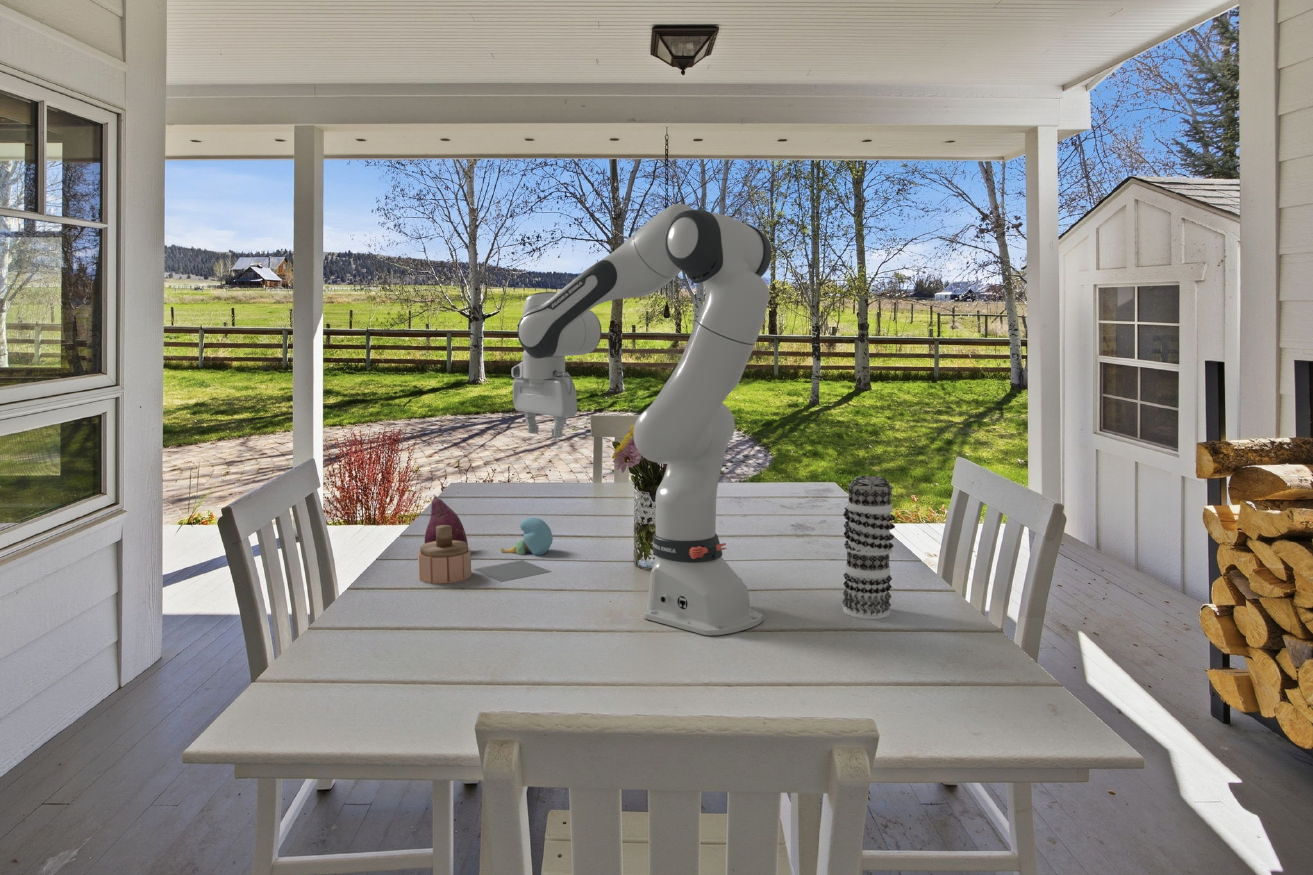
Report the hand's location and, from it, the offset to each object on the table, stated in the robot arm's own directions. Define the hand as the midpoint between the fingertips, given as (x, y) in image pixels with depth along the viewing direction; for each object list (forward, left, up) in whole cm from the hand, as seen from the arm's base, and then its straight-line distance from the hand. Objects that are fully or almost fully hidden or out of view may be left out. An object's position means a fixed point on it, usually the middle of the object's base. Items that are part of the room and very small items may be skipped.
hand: (544, 435), depth 189 cm
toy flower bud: (+13, -3, -29) cm, 32 cm away
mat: (+1, +8, -29) cm, 30 cm away
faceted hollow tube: (+6, +21, -29) cm, 36 cm away
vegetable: (+26, +11, -29) cm, 41 cm away
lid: (+6, +21, -23) cm, 32 cm away
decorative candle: (-62, -30, -29) cm, 75 cm away
